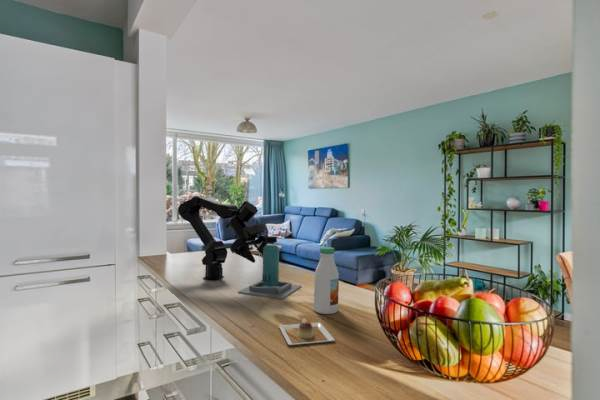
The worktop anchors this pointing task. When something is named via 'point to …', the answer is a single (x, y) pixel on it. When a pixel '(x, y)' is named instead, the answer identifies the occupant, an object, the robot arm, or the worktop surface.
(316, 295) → the milk bottle
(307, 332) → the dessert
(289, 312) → the worktop surface
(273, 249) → the beverage bottle
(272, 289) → the grey square base plate
